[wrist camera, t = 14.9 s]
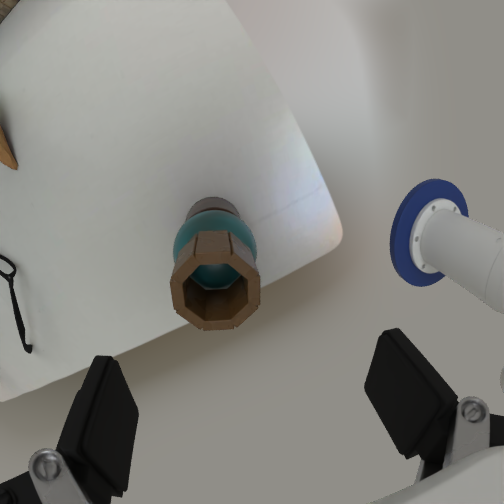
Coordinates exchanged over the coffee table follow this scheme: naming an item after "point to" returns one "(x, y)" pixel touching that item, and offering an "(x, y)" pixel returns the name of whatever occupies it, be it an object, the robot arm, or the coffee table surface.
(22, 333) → the glasses
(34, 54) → the coffee table surface
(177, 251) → the ball stand
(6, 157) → the decorative sculpture
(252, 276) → the bronze ring
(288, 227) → the coffee table surface
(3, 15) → the block tower
